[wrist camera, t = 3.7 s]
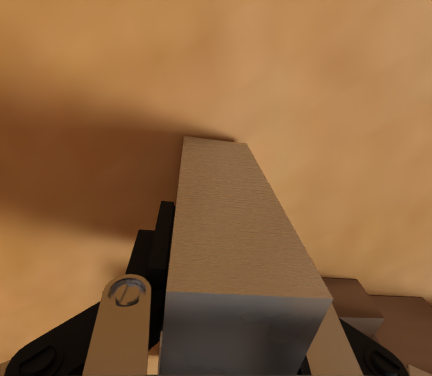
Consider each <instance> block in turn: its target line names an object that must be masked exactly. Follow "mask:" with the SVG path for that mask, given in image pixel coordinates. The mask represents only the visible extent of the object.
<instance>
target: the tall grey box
mask: <svg viewBox="0 0 432 376" xmlns="http://www.w3.org/2000/svg"><path fill="white" fill-rule="evenodd" d="M332 300H333V297H332V296H331V294H330V292H329V290H328V288H327V287H326V285H325V283H324V281H323V280H322V278H321V276H320V274H319V272H318V271H317V269H316V267H315V265H314V263H313V262H312V260H311V258H310V256H309V254H308V253H307V251H306V249H305V247H304V245H303V244H302V242H301V240H300V238H299V236H298V235H297V233H296V231H295V229H294V228H293V226H292V224H291V222H290V220H289V219H288V217H287V215H286V213H285V211H284V210H283V208H282V206H281V204H280V202H279V201H278V199H277V197H276V195H275V193H274V192H273V190H272V188H271V186H270V185H269V183H268V181H267V179H266V177H265V176H264V174H263V172H262V170H261V168H260V167H259V165H258V163H257V161H256V159H255V158H254V156H253V154H252V152H251V150H250V149H249V147H248V145H247V144H246V143H237V142H229V141H221V140H212V139H204V138H196V137H187V136H184V140H183V149H182V157H181V166H180V175H179V184H178V192H177V201H176V210H175V218H174V227H173V236H172V245H171V253H170V262H169V271H168V279H167V288H166V299H165V310H164V322H163V334H162V345H161V357H160V369H159V375H296V374H297V372H298V370H299V368H300V366H301V364H302V362H303V360H304V358H305V356H306V354H307V352H308V350H309V347H310V345H311V343H312V341H313V339H314V337H315V335H316V333H317V331H318V329H319V327H320V325H321V323H322V321H323V319H324V317H325V315H326V313H327V311H328V308H329V306H330V304H331V302H332Z"/></svg>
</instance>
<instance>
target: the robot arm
mask: <svg viewBox="0 0 432 376" xmlns="http://www.w3.org/2000/svg"><path fill="white" fill-rule="evenodd" d="M175 210H176V206H175V205H174V202H167V201H161V205H160V210H159V214H158V219H157V224H156V228H155V231H152V230H139V231H138V234H137V238H136V241H135V244H134V248H133V251H132V254H131V258H130V261H129V264H128V267H127V271H126V274H125V275H122V276H119V277H116V278H114V279H113V280H111V281H110V282H109V283H108V284H107V285H106V286H105V288H104V291H103V293H102V297H101V301H100V302H98V303H97V304H95V305H93V306H91V307H90V308H88V309H86V310H85V311H83V312H81V313H80V314H78V315H76V316H74V317H73V318H71V319H69V320H68V321H66V322H64V323H63V324H61V325H59V326H57V327H56V328H54V329H52V330H51V331H49V332H47V333H46V334H44V335H42V336H40V337H39V338H37V339H35V340H34V341H32V342H30V343H29V344H27V345H26V346H24V347H23V348H22V349H20V350H19V351H18V352H17V353H16V354H15V355H14V356H13V357H12V358H11V360H9V361H6V362H4V363H1V364H0V376H432V374H429V373H427V372H425V371H423V370H420V369H418V368H416V367H414V366H411V365H409V364H408V365H407V366H406V367H405V366H404V365H403V363H402V362H401V361H400V360H399V359H398V358H397V357H396V356H395V355H394V354H393V353H392V352H390V351H389V350H388V349H386V348H385V347H383V346H382V345H380V344H378V343H377V342H375V341H374V340H372V339H371V338H369V337H368V336H366V335H365V334H363V333H362V332H360V331H359V330H357V329H356V328H354V327H352V326H351V325H349V324H348V323H346V322H345V321H343V320H342V319H340V318H339V317H338V316H337V314H336V311H335V309H334V307H333V305H332V302H331V304H330V306H329V308H328V311H327V313H326V315H325V317H324V319H323V321H322V323H321V325H320V327H319V329H318V331H317V333H316V335H315V337H314V339H313V341H312V343H311V345H310V347H309V350H308V352H307V354H306V356H305V358H304V360H303V362H302V364H301V366H300V368H299V370H298V372H297V374H296V375H147V364H148V351H149V350H150V349H151V348H152V347H153V346H154V345H156V344H157V343H158V342H159V341H160V333H161V331H163V322H164V310H165V299H166V288H167V279H168V271H169V262H170V253H171V245H172V236H173V227H174V218H175Z"/></svg>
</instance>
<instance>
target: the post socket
mask: <svg viewBox="0 0 432 376" xmlns="http://www.w3.org/2000/svg"><path fill="white" fill-rule="evenodd" d="M322 280H323V281H324V283H325V285H326V287H327V288H328V290H329V292H330V294H331V296H332V297H333V300H332V305H333V307H334V309H335V311H336V314H337V316H338V317H339V318H340V319H342V320H343V321H345V322H346V323H348V324H349V325H351V326H352V327H354V328H356V329H357V330H359V331H360V332H362V333H363V334H365V335H366V336H368V337H369V338H371V339H372V340H374V341H375V342H377V343H378V344H380V345H382V346H383V347H385V348H386V349H388V350H389V351H390V352H392V353H393V354H394V355H395V356H396V357H397V358H398V359H399V360H400V361H401V362H402V363H403V365H404V366H405V367H406V366H407V365H408V364H409V365H411V366H414V367H416V368H418V369H420V370H423V371H425V372H427V373H429V374H432V307H431V306H430V305H429V304H428V303H427V302H426V300H425V299H424V298H421V297H395V296H369V295H368V294H367V293H366V291H365V290H364V288H363V287H362V286H361V284H360V283H359V281H358V280H356V279H334V278H322ZM162 334H163V331H161V336H160V349H159V362H158V374H157V375H159V369H160V357H161V345H162Z"/></svg>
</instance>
